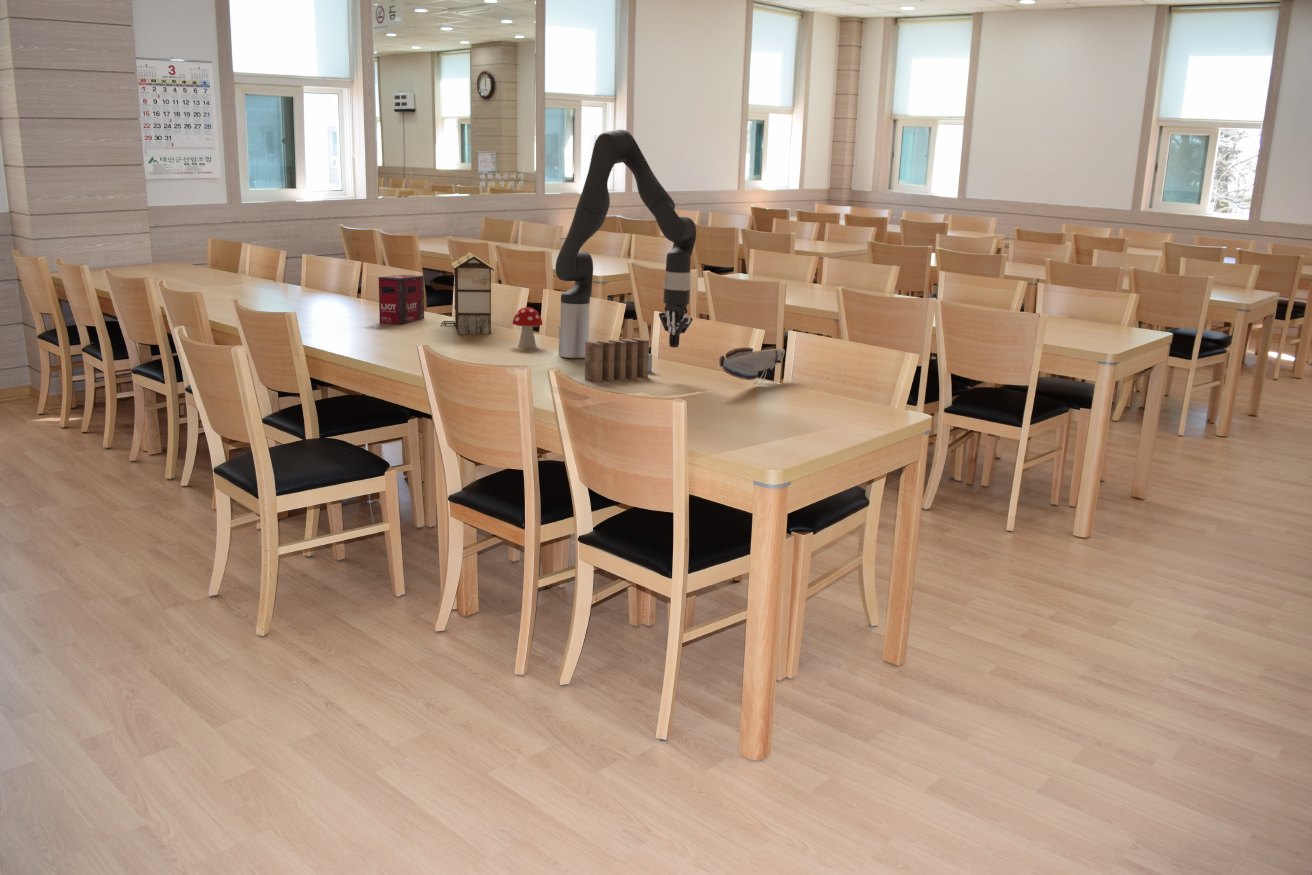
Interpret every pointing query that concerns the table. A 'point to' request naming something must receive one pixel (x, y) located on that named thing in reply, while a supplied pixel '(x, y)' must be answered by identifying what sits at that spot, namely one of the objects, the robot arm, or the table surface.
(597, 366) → the tile
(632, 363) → the tile
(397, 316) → the box
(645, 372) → the tile
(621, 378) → the tile
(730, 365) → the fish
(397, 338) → the table surface
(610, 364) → the tile
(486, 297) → the miniature building
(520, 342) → the decorative mushroom
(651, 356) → the slate tile
